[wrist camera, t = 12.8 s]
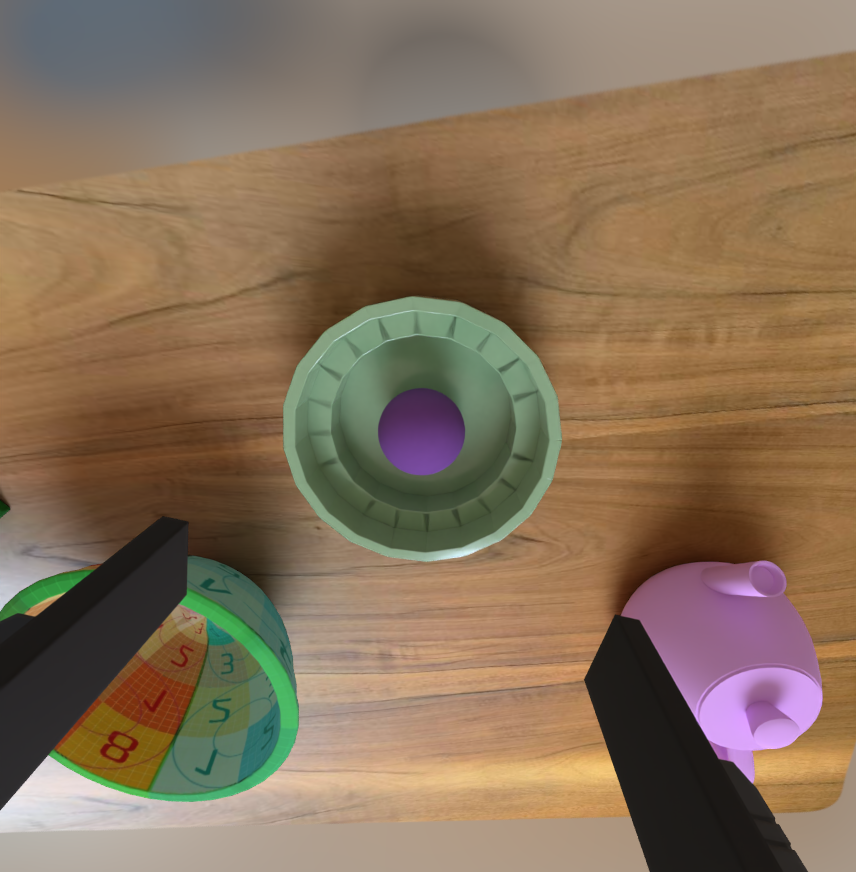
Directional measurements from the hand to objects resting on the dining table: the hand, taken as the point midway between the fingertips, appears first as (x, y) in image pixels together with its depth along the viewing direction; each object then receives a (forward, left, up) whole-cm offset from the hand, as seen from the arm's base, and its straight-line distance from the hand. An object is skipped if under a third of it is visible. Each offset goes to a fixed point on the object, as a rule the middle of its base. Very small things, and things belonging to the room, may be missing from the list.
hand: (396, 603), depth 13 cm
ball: (0, 0, -20) cm, 20 cm away
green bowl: (0, 0, -20) cm, 20 cm away
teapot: (-3, +29, -21) cm, 36 cm away
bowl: (+27, -2, -21) cm, 34 cm away
